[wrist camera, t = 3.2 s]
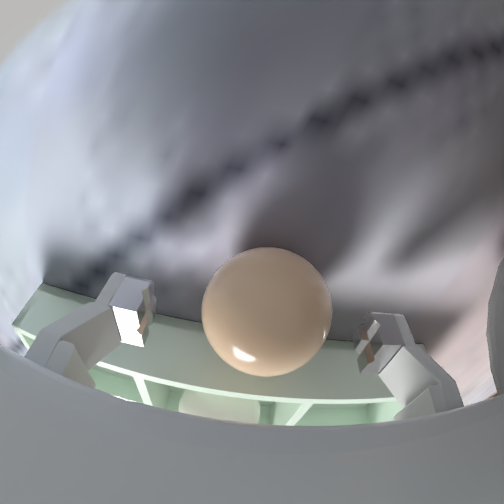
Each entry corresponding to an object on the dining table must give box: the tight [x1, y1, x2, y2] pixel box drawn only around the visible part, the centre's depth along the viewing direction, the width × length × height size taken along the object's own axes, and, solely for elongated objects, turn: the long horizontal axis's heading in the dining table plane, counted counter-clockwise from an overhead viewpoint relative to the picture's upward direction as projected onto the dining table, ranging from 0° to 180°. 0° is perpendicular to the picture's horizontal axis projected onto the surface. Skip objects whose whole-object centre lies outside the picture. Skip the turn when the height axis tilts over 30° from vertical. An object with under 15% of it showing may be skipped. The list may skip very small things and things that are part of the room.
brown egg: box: [202, 247, 332, 377], centre depth 9 cm, size 4×4×4 cm
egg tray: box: [12, 283, 428, 426], centre depth 16 cm, size 23×16×4 cm
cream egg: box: [179, 389, 260, 424], centre depth 13 cm, size 4×4×4 cm
